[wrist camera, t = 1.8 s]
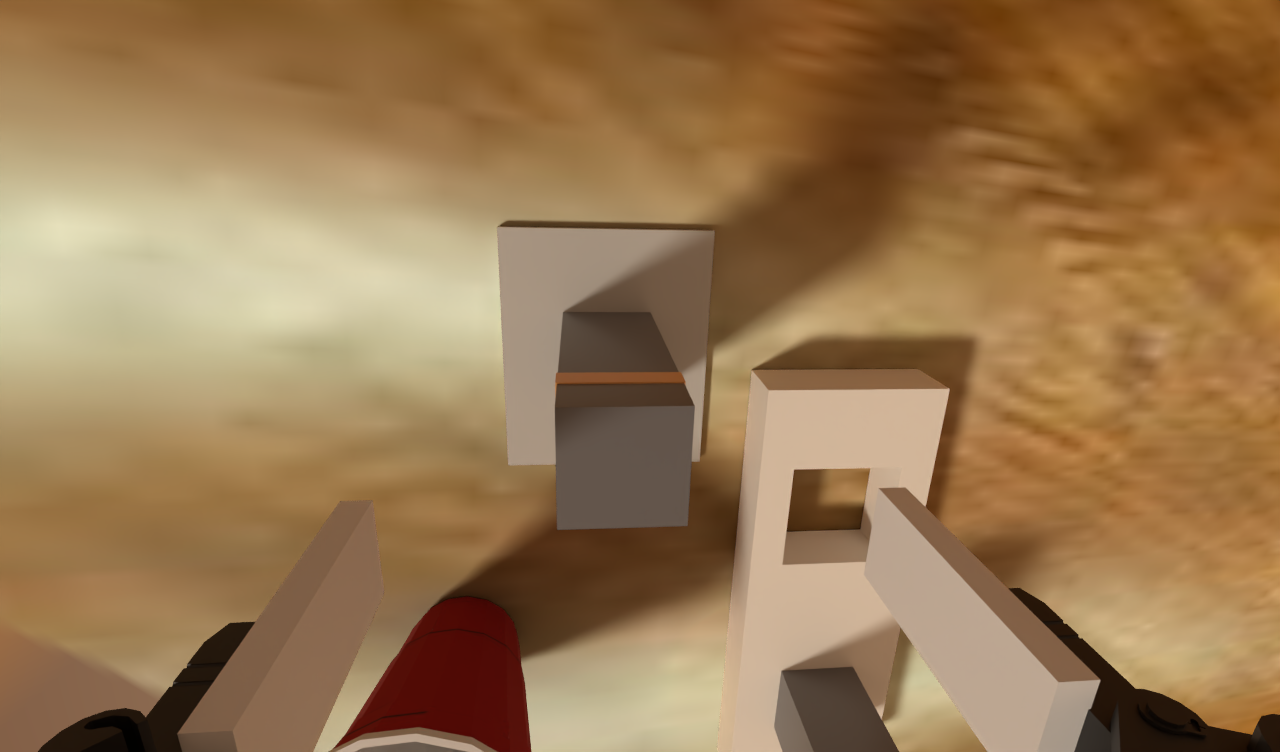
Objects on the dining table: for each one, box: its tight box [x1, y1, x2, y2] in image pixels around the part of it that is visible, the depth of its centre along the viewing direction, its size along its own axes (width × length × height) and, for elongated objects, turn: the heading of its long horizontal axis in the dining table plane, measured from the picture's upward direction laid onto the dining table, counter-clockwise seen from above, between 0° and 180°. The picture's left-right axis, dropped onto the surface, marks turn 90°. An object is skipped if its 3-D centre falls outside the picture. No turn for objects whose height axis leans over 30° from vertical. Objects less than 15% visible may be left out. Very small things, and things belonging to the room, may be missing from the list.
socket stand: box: [717, 369, 950, 752], centre depth 30 cm, size 26×9×15 cm, turn 178°
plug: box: [555, 312, 695, 530], centre depth 25 cm, size 4×4×12 cm
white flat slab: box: [497, 226, 715, 465], centre depth 31 cm, size 12×10×1 cm
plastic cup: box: [329, 596, 531, 752], centre depth 30 cm, size 11×11×12 cm
